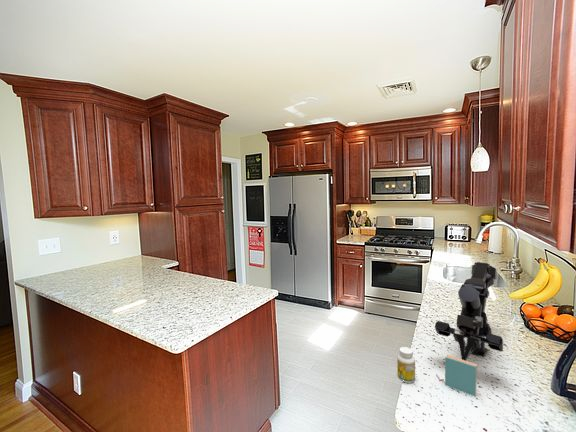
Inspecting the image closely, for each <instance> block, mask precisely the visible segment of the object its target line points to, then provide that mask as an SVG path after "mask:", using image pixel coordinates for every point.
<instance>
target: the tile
mask: <svg viewBox="0 0 576 432" xmlns="http://www.w3.org/2000/svg"><path fill="white" fill-rule="evenodd" d="M444 366H445V373H444V374H445V377H444V385H445V386H446V387H450V388H453V390H454V389H455V390H457V391H460V392H462V391H463V393H465V392H466V393H465V394H468V395H470V394H471V396H473V395H474V396H473V397H476V396H477V385H478V384H477V378H478V374H477V373H478V364H477V363H474V362H471V361H468V360H466V361H465V360H462V358H458V357H455V356H452V355H449V354H446V356H445V360H444Z"/></svg>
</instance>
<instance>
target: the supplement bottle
mask: <svg viewBox="0 0 576 432" xmlns="http://www.w3.org/2000/svg"><path fill="white" fill-rule="evenodd" d="M396 358H397V362H396V363H397V370H396V371H397V373H396V374H397V378H398V379H399V381H401V382H403V383H406V384H412V383H414V382H415V381H416V359H415V356H414V351H413V349H412V348H410V347H406V346H401V347H400V348H399V353H398V355H397V357H396ZM403 380H404V381H403Z"/></svg>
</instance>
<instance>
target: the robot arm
mask: <svg viewBox="0 0 576 432" xmlns="http://www.w3.org/2000/svg"><path fill="white" fill-rule="evenodd" d="M470 273H471V277H470V278H468V279H467V278H466V279H465V281H464V283H462V284H461V286H460V288H459V289H458V290H457V291H458V292H457V295H458V298H459V302H460V304H461V312H460V314H457V316H456V328H453V327H451V325H450V323H448V322H445V321H440V320H437V321H436V322H435V324H434V328H435V331H436V333H437V334H438V335H441V336H445V337H449V336H451V334H452V335H453V339H454V341H455V342H457V343H458V346H459V350H460V356H461V359H462V360H465V361H468V358H469V357H470V356H471V355H472V354H474V355H477V356H480V357H485V355H486V354H487V351H488V348H487V347H486V345H485V344H487V346H488V347H489V349H491V350H494V351H497V352H503V351H504V339H503V338H502V336H501V335H497V334H493V333H492V328H491V325H490V324H489V323H488V315H487V314H486V311H485V310H486V305H487V299H488V298H489V296H490V291H489V288H490V287H491V286H493V285H494V284H495V280H497V277H498V276H497V275H498V271H497V268H496V267H494V266H492V265H491V264H490V263H488V262H480V261H476V262H474V264H472V265H471V271H470ZM465 338H466V340H465Z"/></svg>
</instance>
